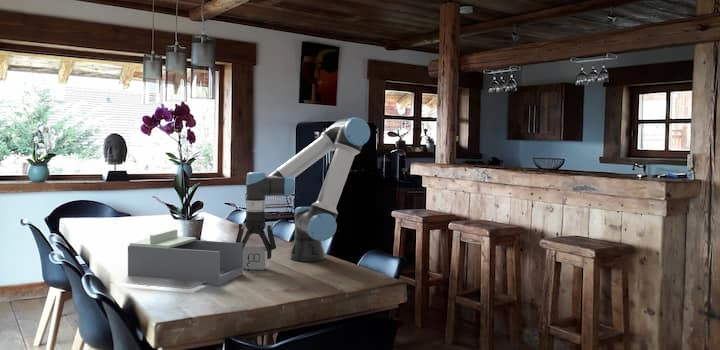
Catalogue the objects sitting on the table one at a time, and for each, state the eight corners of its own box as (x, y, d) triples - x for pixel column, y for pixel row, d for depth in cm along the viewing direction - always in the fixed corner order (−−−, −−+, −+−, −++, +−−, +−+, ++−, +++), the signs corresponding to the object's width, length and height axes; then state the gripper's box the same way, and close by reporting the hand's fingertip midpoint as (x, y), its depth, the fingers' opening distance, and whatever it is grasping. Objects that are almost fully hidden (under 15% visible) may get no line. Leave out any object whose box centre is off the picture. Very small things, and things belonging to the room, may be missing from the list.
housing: (242, 274, 227) (243, 243, 226) (218, 285, 208) (218, 251, 207) (158, 267, 235) (158, 237, 235) (127, 278, 216) (127, 245, 216)
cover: (196, 240, 231) (196, 230, 231) (168, 248, 212) (168, 237, 212) (160, 237, 235) (160, 227, 234) (129, 245, 216) (129, 235, 215)
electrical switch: (241, 269, 235) (242, 246, 235) (244, 268, 240) (245, 245, 240) (265, 270, 235) (265, 247, 235) (267, 268, 240) (268, 246, 240)
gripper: (226, 210, 235) (225, 265, 236) (278, 212, 230) (277, 269, 231) (234, 208, 242) (234, 262, 243) (285, 210, 237) (284, 265, 238)
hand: (255, 265), depth 237 cm, fingers closed on electrical switch, 9 cm apart
